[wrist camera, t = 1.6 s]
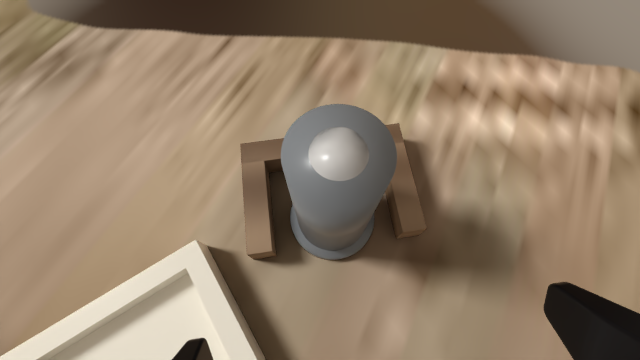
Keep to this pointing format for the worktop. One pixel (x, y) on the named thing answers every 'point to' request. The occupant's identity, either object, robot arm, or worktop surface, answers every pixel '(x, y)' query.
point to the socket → (268, 159)
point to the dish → (152, 317)
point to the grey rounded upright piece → (336, 177)
